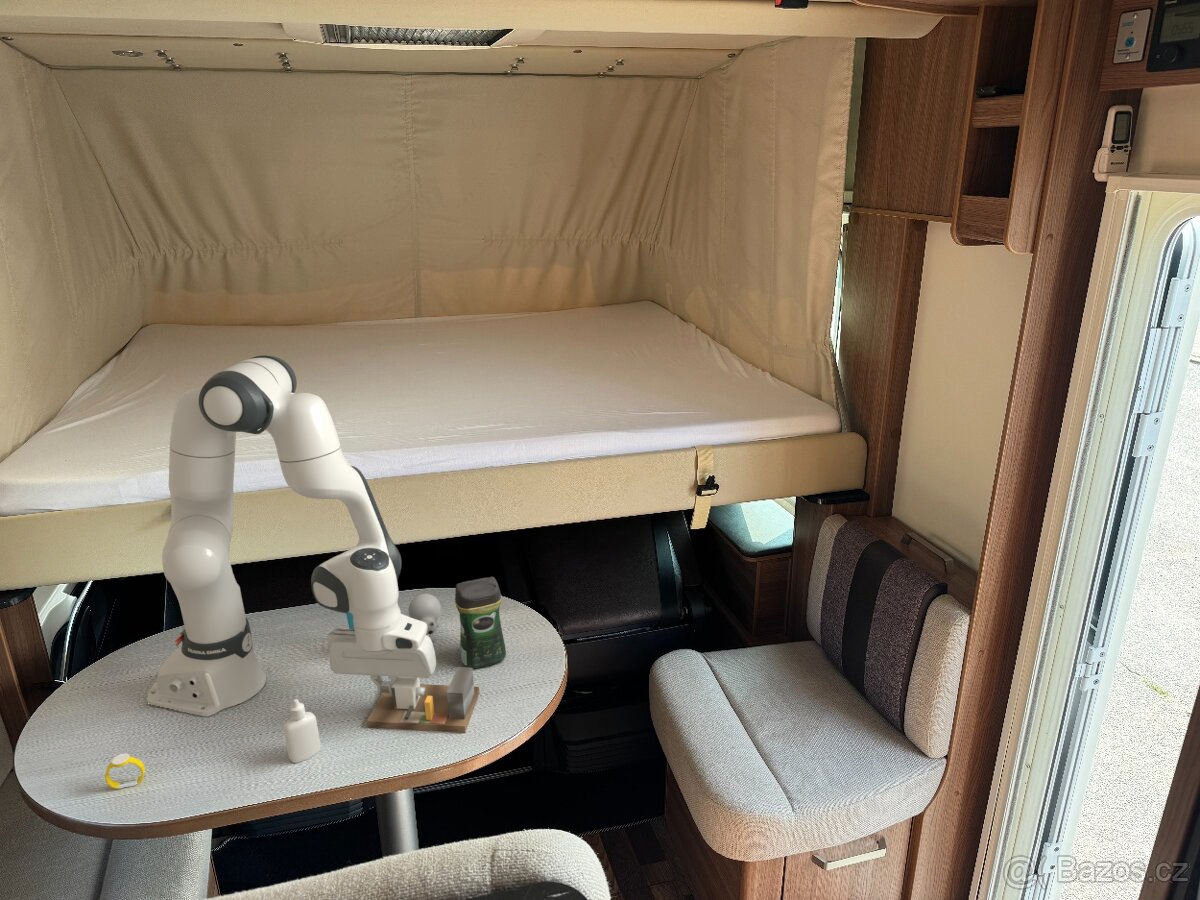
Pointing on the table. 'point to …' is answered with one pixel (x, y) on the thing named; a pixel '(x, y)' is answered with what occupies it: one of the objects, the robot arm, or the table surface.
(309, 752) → the eye dropper bottle
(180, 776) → the table surface
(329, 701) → the table surface
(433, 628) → the round bodied animal figurine
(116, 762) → the watch
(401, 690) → the cream block with knob
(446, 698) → the bench
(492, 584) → the coffee jar
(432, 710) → the block
